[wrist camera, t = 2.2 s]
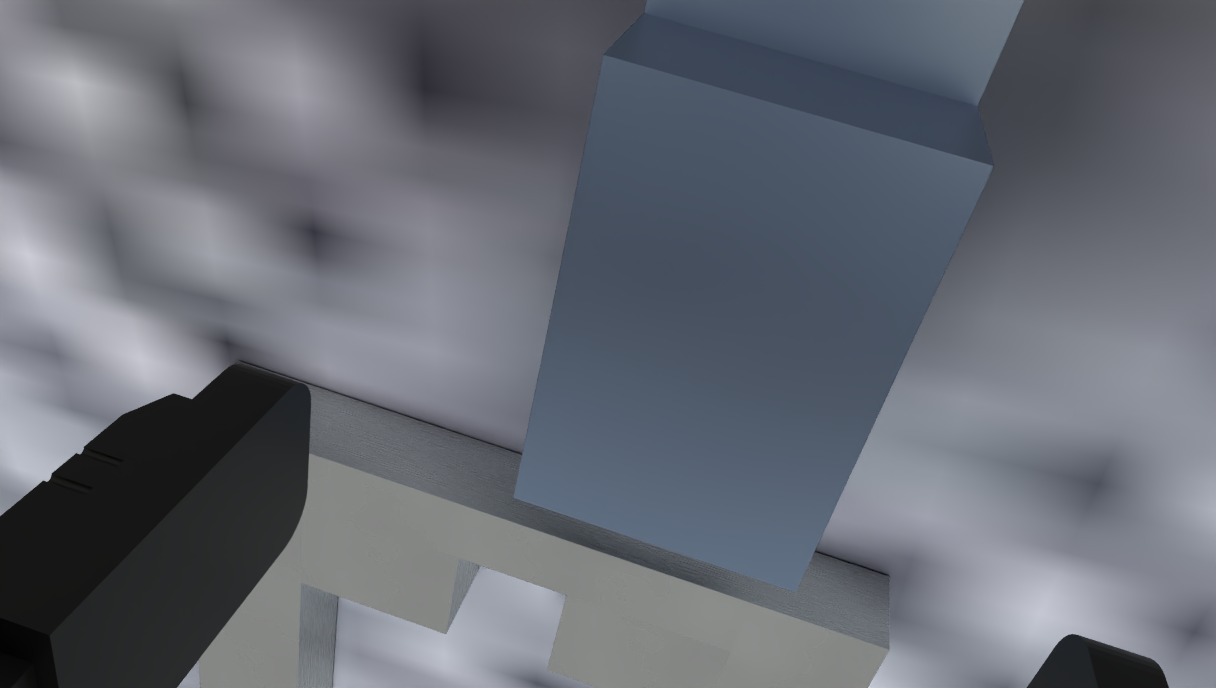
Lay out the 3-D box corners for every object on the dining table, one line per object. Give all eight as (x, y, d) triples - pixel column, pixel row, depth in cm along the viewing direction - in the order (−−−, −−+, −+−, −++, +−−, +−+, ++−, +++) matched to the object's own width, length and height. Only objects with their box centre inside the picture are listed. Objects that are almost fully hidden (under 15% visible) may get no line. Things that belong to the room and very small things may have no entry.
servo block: (715, -167, 14) (641, -137, 10) (1019, -87, 13) (1080, -22, 9) (576, 414, 20) (495, 584, 16) (784, 481, 19) (757, 675, 15)
